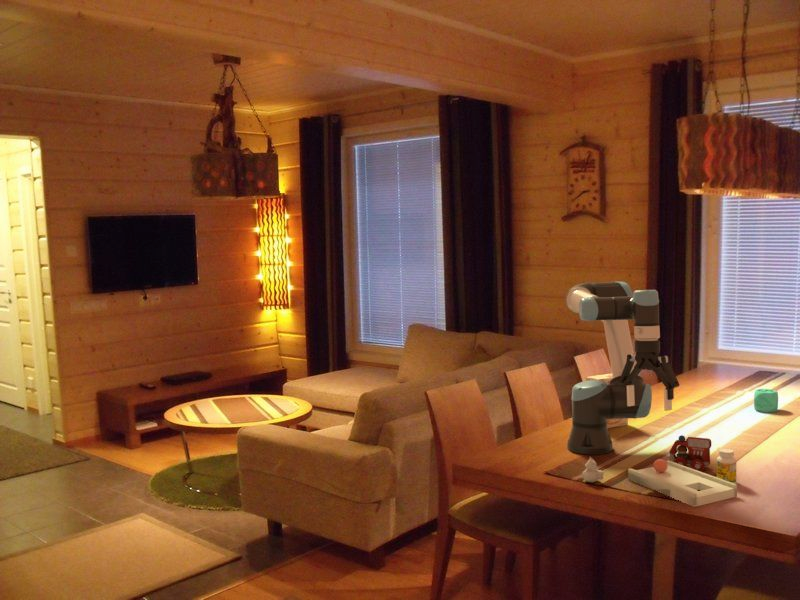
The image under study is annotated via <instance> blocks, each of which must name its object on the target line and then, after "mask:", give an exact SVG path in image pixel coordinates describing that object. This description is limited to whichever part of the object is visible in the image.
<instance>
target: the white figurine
mask: <svg viewBox="0 0 800 600" xmlns="http://www.w3.org/2000/svg"><path fill="white" fill-rule="evenodd" d="M597 464H598V463H597V462H596V460H594V458H592V457H591V456H589V459H588V460H587V461H586V463H585V464H584V466H585V469H584V471H582V472H581V473H582V474H581V475H582V478H583V480H584V481H586V482H588V483H596V482H597V481H598V480H600V481H601V480H603V479H604V475H605V471H604V470H601V469H600V470H599V469H598V465H597Z"/></svg>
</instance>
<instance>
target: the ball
mask: <svg viewBox="0 0 800 600" xmlns="http://www.w3.org/2000/svg"><path fill="white" fill-rule="evenodd" d="M666 461H667V460H665V459H662V458H657V459H656V460H654V462H653V467H654V469H655V470H656V471H657V472H660V473H662V472H665V471H666V470H667V467H668V465H667V463H666Z"/></svg>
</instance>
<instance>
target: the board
mask: <svg viewBox="0 0 800 600" xmlns="http://www.w3.org/2000/svg"><path fill="white" fill-rule="evenodd" d="M665 461H666V463H667V465H668V467H667V470H666V471H665V472H662V473H660V472H657V471H656V470H655V469H654V466H651V467H646V468H641V469H634V468H628V469H627V473H628V474H627V475H628V476H627V481H629V480H630V482H632V481H633V482H632V483H634V482H635V484H637V483H638V484H637V485H639V484H640V485H639V486H642V485H643V486H642V487H644V486H645V488H646V487H648V488H647V489H649V488H651V489H653V490H652V491H654V490H656V491H658V492H657V493H659V492H660V493H659V494H661V493H663V494H665V495H664V496H666V495H667V496H666V497H668V496H670V497H669V498H671V497H672V498H671V499H673V498H674V499H673V500H676V501H678V500H679V501H678V502H680V501H681V503H683V504H685V503H686V505H687V506H689V507H690V506H691V507H693V508H695V507H699V506H700V507H701V506H704V505H707V504H708V505H709V504H712V503H713V504H714V503H716V502H721V501H724V500H728V499H731V498H736V497H737V496H738V489H737V488H738V484H737V483H735V484H734V483H731V482H728V481H726V480H723V479H720V478H717V476H714V475H711V474H708V473H705V472H703V471H702V472H700V471H697V470H694V469H692V468H691V467H689V466H687V467H686V466H683V465H680V464H677V463H674V462H672V461H670V459H669V460H665ZM651 489H650V490H651ZM697 490H700V491H697ZM656 491H655V492H656ZM663 494H662V495H663ZM737 498H738V497H737Z"/></svg>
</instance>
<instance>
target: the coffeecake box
mask: <svg viewBox="0 0 800 600" xmlns="http://www.w3.org/2000/svg"><path fill="white" fill-rule="evenodd" d="M612 378H613V376H612V373H606V374H598V375H597V374H596V375H591V376H586V377H585V381H590V380H603V381H605V382H606V383H607V385H609V381H610V380H611V379H612ZM628 425H629V418H622V419H607V429H611V428H616V427H621V426H622V427H623V426H628Z"/></svg>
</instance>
